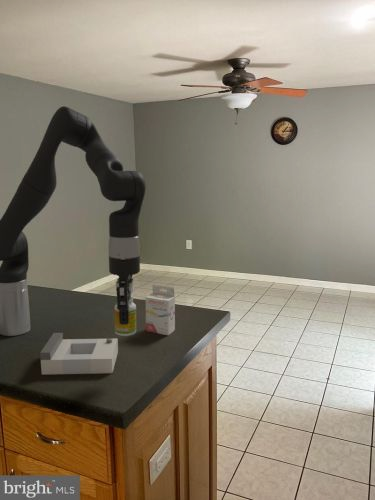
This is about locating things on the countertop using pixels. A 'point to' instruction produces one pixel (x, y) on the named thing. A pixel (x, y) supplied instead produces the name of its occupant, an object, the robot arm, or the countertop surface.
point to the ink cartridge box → (160, 310)
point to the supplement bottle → (131, 326)
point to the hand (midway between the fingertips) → (125, 319)
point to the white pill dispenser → (78, 355)
